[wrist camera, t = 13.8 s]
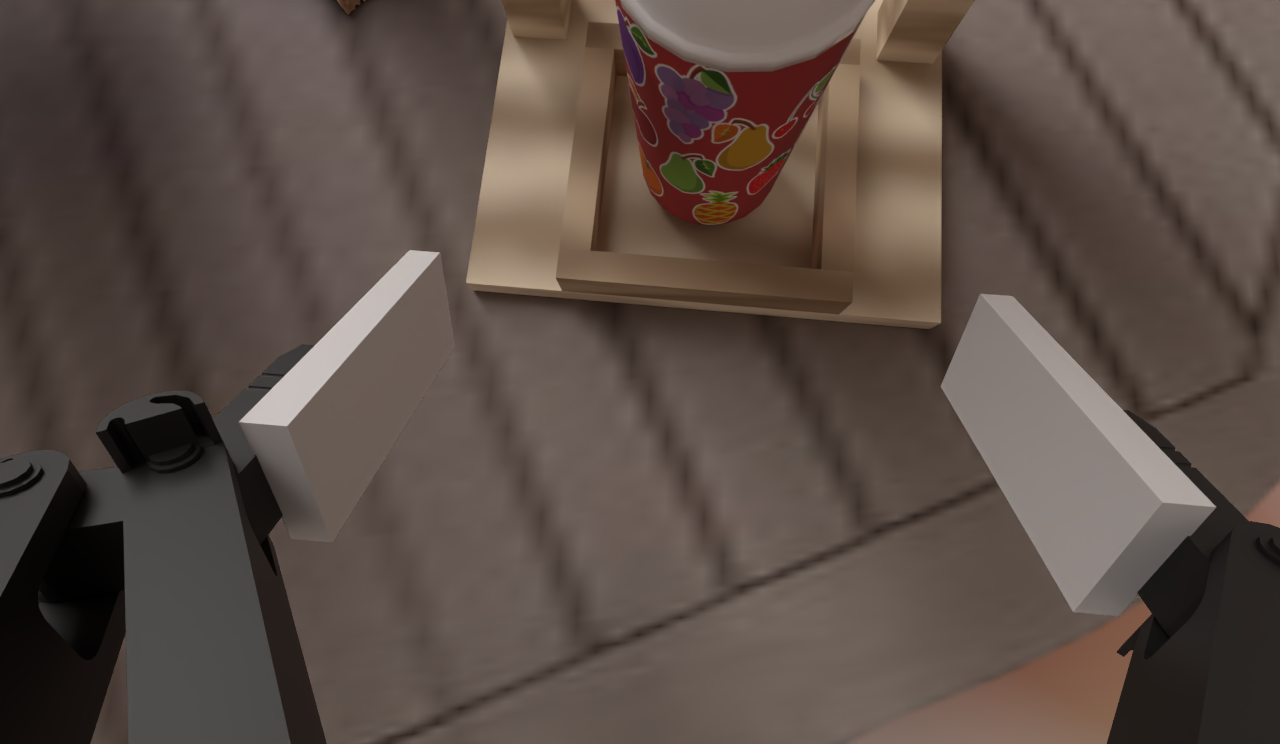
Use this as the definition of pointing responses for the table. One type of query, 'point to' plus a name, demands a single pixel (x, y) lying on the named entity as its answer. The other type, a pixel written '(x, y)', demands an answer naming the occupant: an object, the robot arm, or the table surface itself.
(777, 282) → the wooden pedestal stand
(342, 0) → the bird sculpture
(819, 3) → the smoothie
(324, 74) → the table surface
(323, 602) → the table surface
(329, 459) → the robot arm
